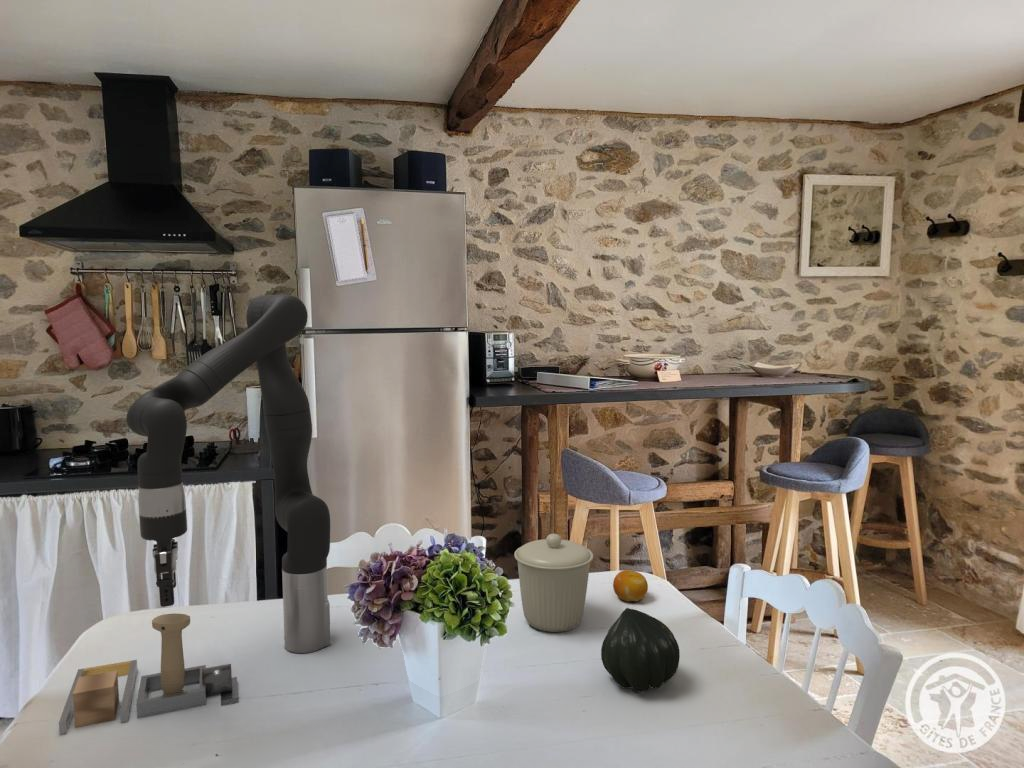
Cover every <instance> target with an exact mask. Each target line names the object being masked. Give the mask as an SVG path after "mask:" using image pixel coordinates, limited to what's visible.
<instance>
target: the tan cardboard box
mask: <svg viewBox="0 0 1024 768" xmlns="http://www.w3.org/2000/svg"><path fill="white" fill-rule="evenodd" d="M119 691H120V690H119V676H118V673H117V671H112V672H106V673H100V674H94V675H88V676H82V677H79V678H78V681H77V684H76V687H75V689H74V692H73V703H74V713H73V716H74V718H73V719H74V727H75V728H78V727H83V726H89V725H94V724H99V723H105V722H109V721H114V720H116V717H117V713H118V710H119V705H120V694H119Z"/></svg>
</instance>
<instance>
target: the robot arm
mask: <svg viewBox="0 0 1024 768" xmlns="http://www.w3.org/2000/svg"><path fill="white" fill-rule="evenodd" d="M245 316H246V326H247V329H245V330H244V331H243V332H241V333H240V334H238V335H236V336H235V337H233V338H232V339H229V340H227V341H225V342H223V343H222V344H219V345H217V346H215V347H213V348H211V349H210V350H208V351H207V352H205V353H203V354H202V355H201V356H199V357H198V358H196V359H195V360H193V361H192V362H191V363H189V365H187V366H186V367H185V368H184V369H182V370H181V371H180V372H178V374H177V375H175V376H174V377H173V378H171V379H169V380H166V381H165V382H163V383H161V384H159V385H157V386H155V387H154V388H151V389H150V390H148V391H147V392H145V393H143V394H142V395H141V396H139V397H138V398H136V400H135V401H134V402H133V403H132V404H131V406H129V409H128V410H127V413H126V423H127V426H128V428H129V429H130V431H132V432H133V433H135V434H136V435H138V436H140V437H141V436H142V437H147V446H146V452H144V453H142V454H140V456H139V457H138V459H137V480H138V481H137V482H138V497H137V503H138V517H139V528H140V529H139V531H140V537H141V538H142V540H145V541H154V542H156V543H154V544H153V545H152V546H153V548H152V550H151V551H152V558H153V563H154V564H153V565H154V566H153V567H154V568H153V570H154V573H155V576H156V582H155V585H156V586H157V588H158V590H159V591H158V592H159V605H160V607H161V608H163V607H164V608H165V607H171V606H173V605H174V604H175V591H174V588H176V587H177V577H176V576H177V574H176V572H177V560H178V559H179V558H178V554H179V553H178V551H179V542H178V541H176V540H175V538H178V537H182V536H183V535H185V534H186V533H187V532H188V522H187V521H188V518H187V506H186V493H185V488H184V483H183V481H184V480H183V468H182V456H183V452H184V447H185V442H186V437H187V431H188V430H187V428H188V424H187V417H186V416H187V415H186V413H185V411H186V410H189V409H193V408H194V409H195V408H198V407H201V406H203V405H205V403H207V402H208V401H210V400H211V398H213V397H214V396H216V395H217V393H219V392H220V391H221V390H222V389H223V388H225V387H226V386H227V385H229V384H230V382H232V381H233V380H234V379H235V378H237V377H238V376H239V375H240V374H241V373H243V372H244V371H246V369H248V368H249V367H251V366H252V365H254V364H255V363H256V368H257V375H258V380H259V386H260V393H261V399H262V410H263V417H264V426H265V430H266V435H267V440H268V441H267V442H268V448H269V455H270V461H271V465H272V470H273V479H274V480H273V482H274V511H275V519H276V521H277V523H278V525H279V526H280V527H281V528H282V529H283V530H284V531H285V532H287V552H285V553H284V554H283V555H282V558H281V573H282V574H281V575H282V580H281V581H282V600H283V601H282V604H283V605H282V607H283V634H284V635H283V636H284V637H283V640H284V648H285V650H287V651H288V652H291V653H293V654H294V653H296V654H308V653H313V652H316V651H319V650H322V649H323V648H325V647H329V646H331V644H332V643H331V613H330V612H331V610H330V609H331V607H330V601H329V598H328V597H329V596H328V594H329V593H328V566H327V565H328V562H327V561H328V557H329V554H330V550H331V514H330V508H329V507H328V504H327V503H326V502H325V501H324V500H323V499H322V498H320V497H319V496H316V495H314V494H313V491H312V487H311V483H310V478H309V472H308V459H309V453H310V447H311V444H312V439H313V424H312V423H313V422H312V415H311V407H310V401H309V398H308V395H307V394H306V391H305V390H304V387H303V386H302V384H301V382H300V380H299V378H298V377H297V375H296V373H295V371H294V369H293V368H292V365H291V363H290V360H289V355H288V353H287V352H288V351H287V343H288V342H290V341H292V340H293V339H294V338H297V337H298V336H299V335H300V334H301V333H302V332H303V331H304V330H305V328H306V326H307V324H308V318H309V314H308V310H307V307H306V304H305V303H304V302H303V301H302V300H301V299H300V298H298V297H297V296H295V295H292V294H285V293H281V294H280V293H279V294H277V293H276V294H263V295H258V296H255V297H254V298H253V299H252V300H251V301H250V302H249V304H248V305H247V308H246V315H245Z"/></svg>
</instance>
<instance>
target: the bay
mask: <svg viewBox="0 0 1024 768" xmlns="http://www.w3.org/2000/svg"><path fill="white" fill-rule="evenodd" d="M112 671H117V673H118V677H120V676H127V678H126V683H125V686H124V690H123V691H124V692H123V695H122V700H121V705H120V709H119V716H120V724H123V723H128V719H129V714H130V709H131V706H132V705H131V704H132V699H133V694H134V690H135V685H136V684H135V683H136V680H137V675H138V659H133V660H128V661H122V662H115V663H110V664H109V663H108V664H103V665H99V666H98V665H97V666H92V667H84V668H80V669H77V672H76V674H75V678H74V679H73V682H72V685H71V688H70V691H69V693H68V697H67V698H66V702H65V705H64V707H63V710H62V713H61V715H60V717H59V720H58V729H59V730H58V731H59V736H61V735H66V734H68V731H69V729H70V728H69V727H70V726H71V722H72V719H73V716H74V703H73V692H74V689H75V687H76V684H77V681H78V678H79V677H82V676H88V675H94V674H100V673H106V672H112Z"/></svg>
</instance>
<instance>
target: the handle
mask: <svg viewBox="0 0 1024 768" xmlns="http://www.w3.org/2000/svg"><path fill="white" fill-rule="evenodd" d="M190 624H191V616H190V615H188V614H185V613H163V614H160V615H157V616H156V617H154V618H153V619H152V620H151V626H152V627H151V628H153V629H154V630H156V631H158V632H160V635H161V643H160V644H161V645H160V646H161V647H160V648H161V649H160V650H161V651H160V654H161V655H160V673H161V683H162V689H161V690H162V691H163V692H162V696H164V695H169V694H175V693H180V692H185V691H184V686H185V685H184V676H185V658H184V648H183V647H184V646H183V635H182V634H183V630H184V629H186V628H187V627H189V626H190Z"/></svg>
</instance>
